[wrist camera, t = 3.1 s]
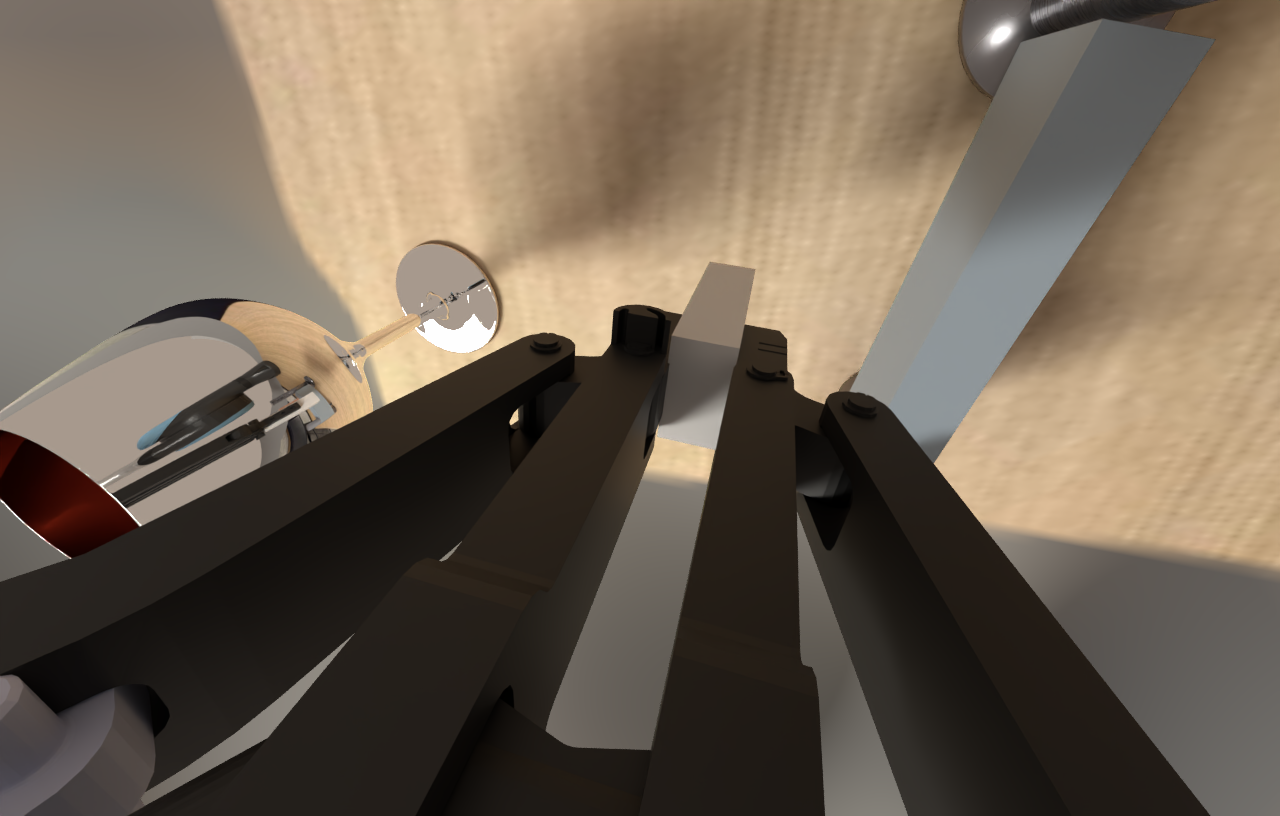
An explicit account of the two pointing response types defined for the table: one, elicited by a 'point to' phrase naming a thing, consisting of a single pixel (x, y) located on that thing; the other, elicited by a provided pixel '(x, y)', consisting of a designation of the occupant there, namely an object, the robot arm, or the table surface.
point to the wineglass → (208, 401)
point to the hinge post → (1040, 27)
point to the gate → (1020, 212)
